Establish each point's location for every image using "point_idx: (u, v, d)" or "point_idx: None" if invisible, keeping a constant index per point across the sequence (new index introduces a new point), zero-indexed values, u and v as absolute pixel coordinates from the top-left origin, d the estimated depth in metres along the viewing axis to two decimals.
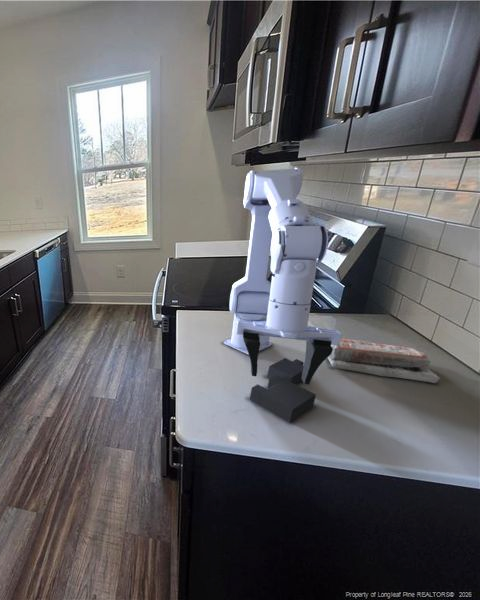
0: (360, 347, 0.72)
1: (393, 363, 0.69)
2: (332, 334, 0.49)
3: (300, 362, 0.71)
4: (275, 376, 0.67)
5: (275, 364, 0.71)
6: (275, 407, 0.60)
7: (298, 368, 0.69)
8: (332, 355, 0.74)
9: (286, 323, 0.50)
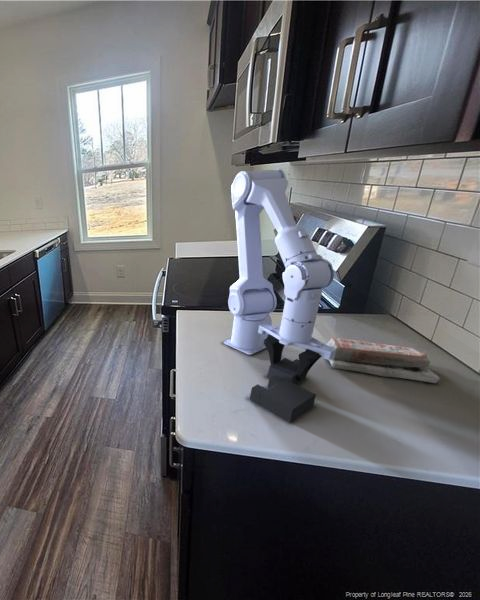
0: (360, 347, 0.72)
1: (393, 363, 0.69)
2: (323, 350, 0.62)
3: None
4: (275, 376, 0.67)
5: (275, 364, 0.71)
6: (275, 407, 0.60)
7: None
8: None
9: (285, 333, 0.66)
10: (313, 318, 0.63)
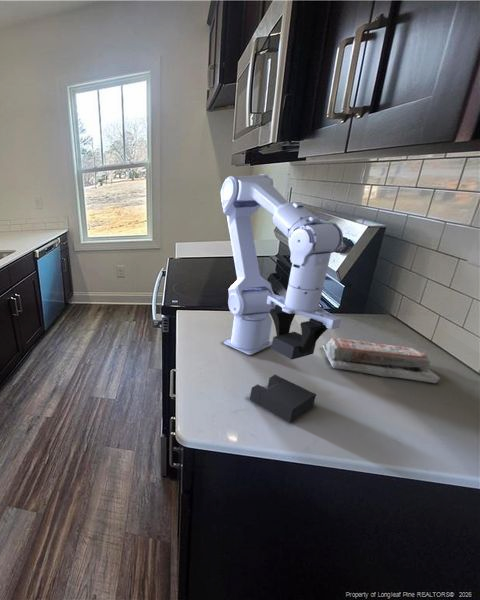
0: (360, 347, 0.72)
1: (393, 363, 0.69)
2: (326, 318, 0.59)
3: None
4: (275, 376, 0.67)
5: (280, 336, 0.69)
6: (275, 407, 0.60)
7: None
8: (332, 355, 0.74)
9: (289, 301, 0.64)
10: (321, 285, 0.60)
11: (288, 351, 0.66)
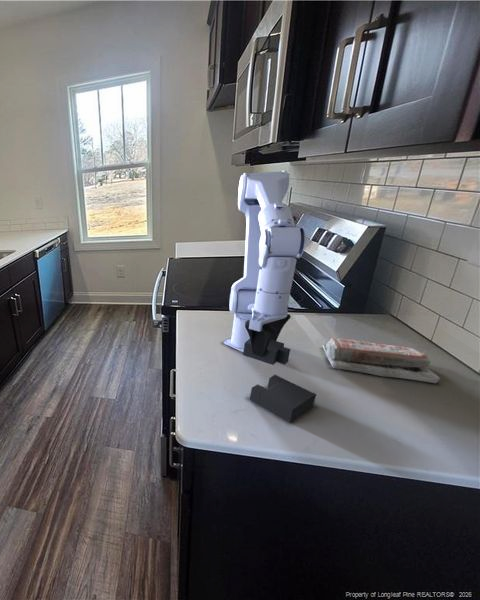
0: (360, 347, 0.72)
1: (394, 363, 0.69)
2: (251, 318, 0.61)
3: (284, 350, 0.63)
4: (275, 376, 0.67)
5: None
6: (275, 407, 0.60)
7: None
8: (332, 355, 0.74)
9: None
10: (282, 289, 0.59)
11: None
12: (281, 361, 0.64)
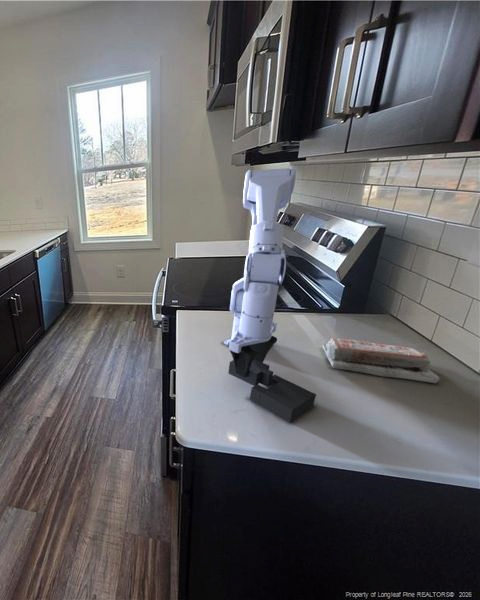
0: (361, 347, 0.72)
1: (394, 363, 0.69)
2: (232, 340, 0.63)
3: (266, 372, 0.65)
4: (275, 376, 0.67)
5: None
6: (275, 407, 0.60)
7: (250, 368, 0.66)
8: (332, 355, 0.74)
9: None
10: (262, 313, 0.61)
11: None
12: (264, 383, 0.65)
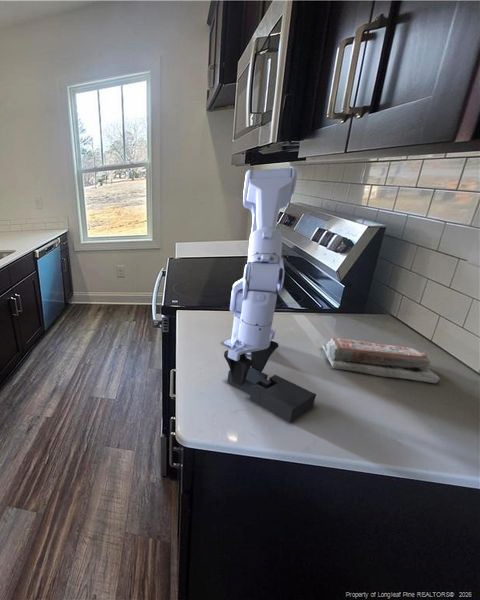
0: (361, 347, 0.72)
1: (394, 363, 0.69)
2: (231, 347, 0.64)
3: (264, 382, 0.65)
4: (275, 376, 0.67)
5: None
6: (275, 407, 0.60)
7: (249, 377, 0.67)
8: (332, 355, 0.74)
9: None
10: (261, 322, 0.61)
11: None
12: None
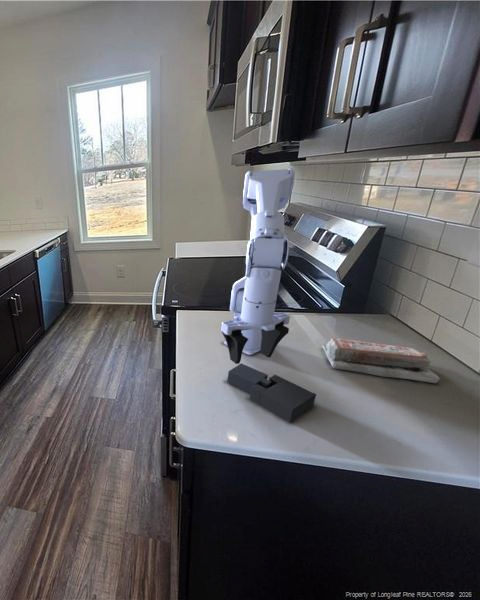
0: (361, 347, 0.72)
1: (394, 363, 0.69)
2: (285, 317, 0.64)
3: (264, 382, 0.65)
4: (275, 376, 0.67)
5: (246, 366, 0.71)
6: (275, 407, 0.60)
7: (249, 377, 0.67)
8: (332, 356, 0.74)
9: (265, 319, 0.61)
10: (265, 299, 0.60)
11: None
12: None
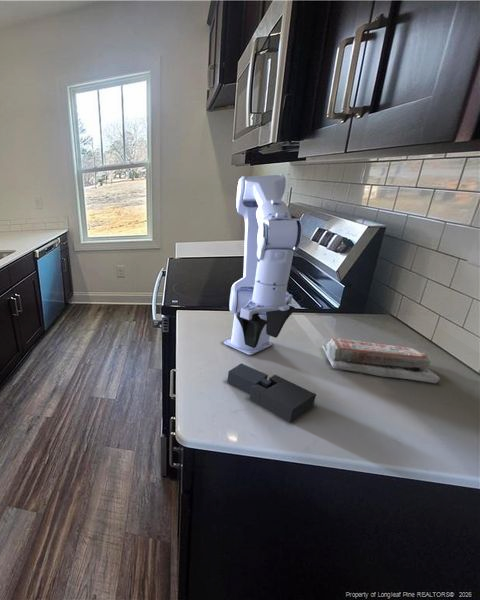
0: (361, 347, 0.72)
1: (394, 363, 0.69)
2: (289, 297, 0.67)
3: (264, 382, 0.65)
4: (275, 376, 0.67)
5: (246, 366, 0.71)
6: (275, 407, 0.60)
7: (249, 377, 0.67)
8: (332, 356, 0.74)
9: (281, 299, 0.62)
10: (279, 281, 0.61)
11: None
12: None
